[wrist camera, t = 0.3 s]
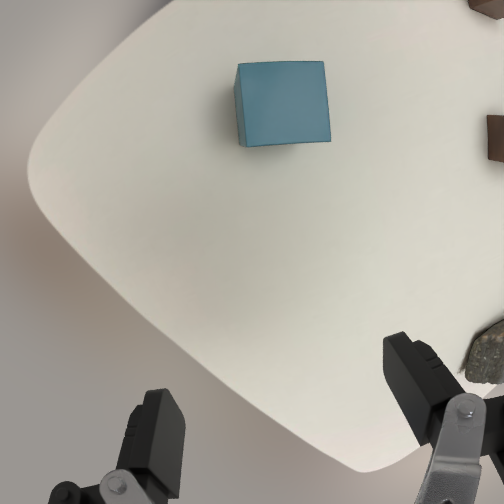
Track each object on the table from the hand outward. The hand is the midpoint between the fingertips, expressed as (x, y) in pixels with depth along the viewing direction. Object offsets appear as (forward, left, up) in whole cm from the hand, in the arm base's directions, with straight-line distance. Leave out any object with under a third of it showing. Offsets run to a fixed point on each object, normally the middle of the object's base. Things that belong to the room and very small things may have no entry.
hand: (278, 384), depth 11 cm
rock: (+8, +39, -18) cm, 44 cm away
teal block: (-11, 0, -18) cm, 21 cm away
